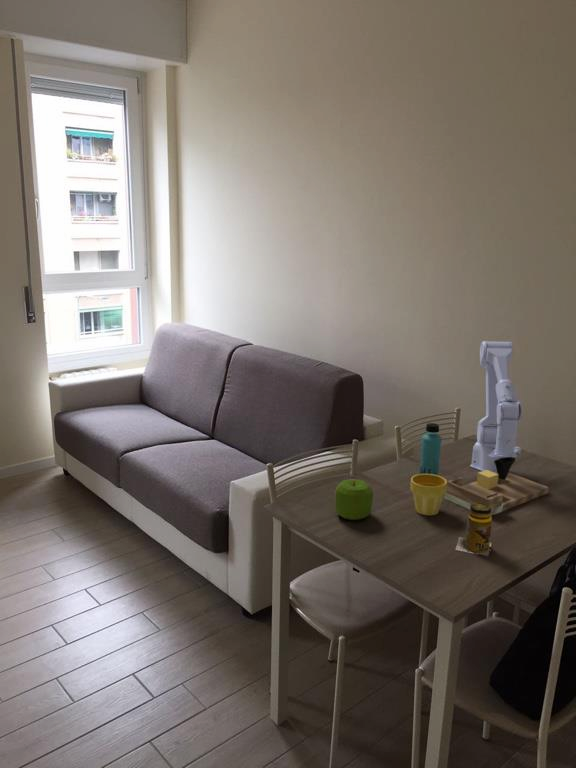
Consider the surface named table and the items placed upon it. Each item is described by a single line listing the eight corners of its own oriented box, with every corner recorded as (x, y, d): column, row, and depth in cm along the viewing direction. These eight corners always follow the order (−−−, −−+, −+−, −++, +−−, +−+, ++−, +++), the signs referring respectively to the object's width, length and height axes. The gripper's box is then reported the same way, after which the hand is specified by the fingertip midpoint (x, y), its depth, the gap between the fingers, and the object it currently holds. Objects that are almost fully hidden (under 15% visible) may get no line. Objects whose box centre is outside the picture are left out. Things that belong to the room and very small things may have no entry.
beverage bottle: (438, 479, 214) (442, 421, 209) (439, 487, 208) (443, 428, 203) (418, 477, 215) (422, 420, 210) (418, 485, 209) (422, 426, 204)
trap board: (505, 476, 217) (506, 461, 216) (547, 493, 205) (549, 476, 203) (444, 498, 200) (445, 481, 199) (486, 517, 188) (488, 500, 186)
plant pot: (412, 500, 198) (414, 470, 196) (447, 506, 195) (449, 476, 192) (405, 515, 189) (407, 483, 186) (442, 521, 185) (444, 489, 183)
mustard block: (485, 481, 208) (486, 469, 207) (497, 486, 204) (498, 474, 203) (476, 484, 205) (477, 472, 204) (488, 489, 202) (489, 477, 201)
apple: (375, 523, 183) (377, 488, 180) (337, 524, 182) (338, 488, 180) (368, 506, 194) (369, 472, 191) (332, 507, 193) (333, 473, 190)
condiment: (489, 557, 166) (493, 514, 163) (455, 550, 169) (458, 508, 166) (491, 544, 173) (495, 502, 170) (458, 538, 176) (462, 497, 173)
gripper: (502, 446, 197) (498, 487, 201) (530, 437, 206) (526, 477, 209) (483, 439, 203) (479, 480, 206) (511, 431, 211) (507, 470, 215)
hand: (501, 478), depth 208 cm, fingers closed
